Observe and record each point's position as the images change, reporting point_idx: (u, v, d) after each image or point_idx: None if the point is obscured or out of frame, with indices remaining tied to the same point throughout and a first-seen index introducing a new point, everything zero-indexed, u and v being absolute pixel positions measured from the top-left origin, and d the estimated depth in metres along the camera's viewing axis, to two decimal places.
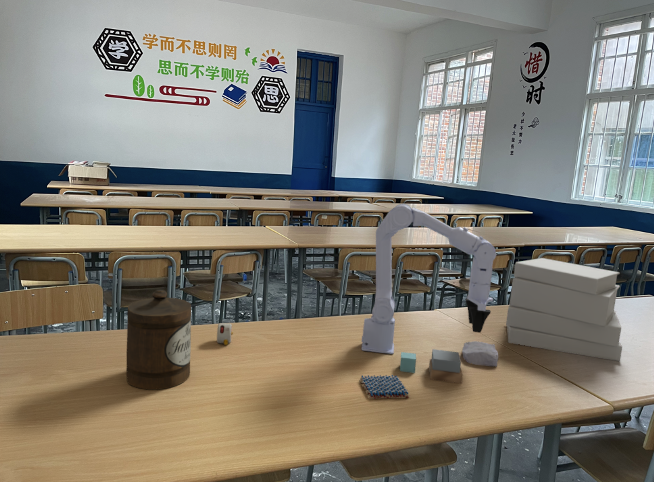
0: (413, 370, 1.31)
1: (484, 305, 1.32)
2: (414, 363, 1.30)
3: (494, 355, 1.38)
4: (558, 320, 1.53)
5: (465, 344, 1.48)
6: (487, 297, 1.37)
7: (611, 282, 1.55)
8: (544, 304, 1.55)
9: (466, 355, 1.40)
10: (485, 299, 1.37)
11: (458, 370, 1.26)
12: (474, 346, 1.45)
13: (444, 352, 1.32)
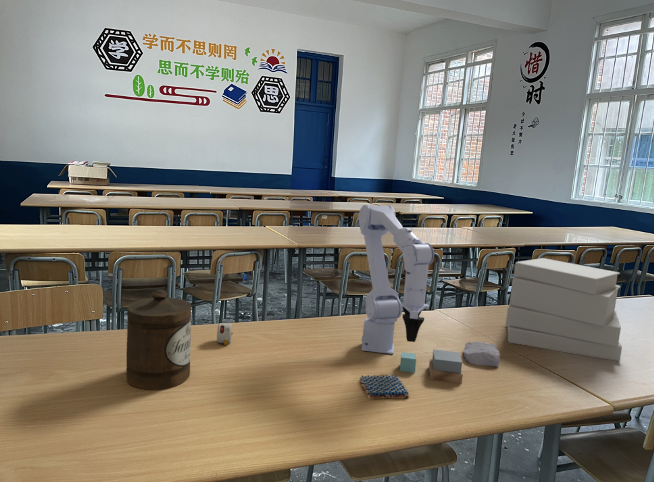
0: (413, 370, 1.31)
1: (416, 313, 1.23)
2: (414, 363, 1.30)
3: (496, 355, 1.38)
4: (558, 320, 1.53)
5: (466, 344, 1.48)
6: (422, 304, 1.28)
7: (612, 282, 1.54)
8: (544, 303, 1.55)
9: (468, 355, 1.40)
10: (420, 306, 1.27)
11: (459, 370, 1.26)
12: (475, 346, 1.45)
13: (445, 352, 1.32)
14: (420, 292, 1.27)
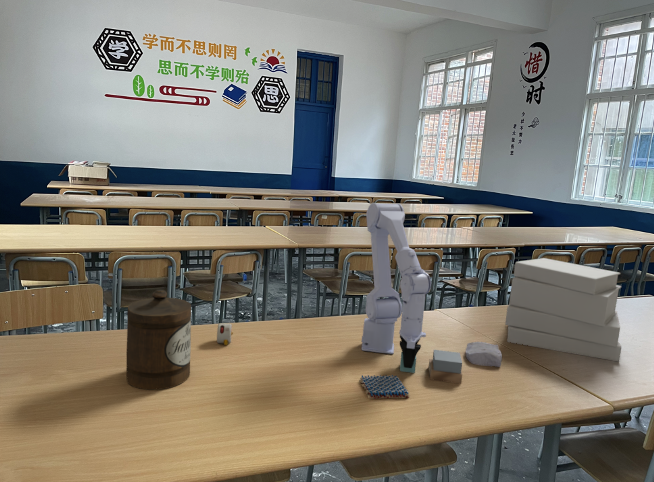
0: (413, 370, 1.31)
1: (413, 343, 1.24)
2: (414, 363, 1.30)
3: (498, 355, 1.38)
4: (557, 319, 1.53)
5: (468, 344, 1.48)
6: (419, 333, 1.29)
7: (612, 282, 1.54)
8: (543, 303, 1.56)
9: (470, 355, 1.40)
10: (417, 335, 1.29)
11: (459, 371, 1.26)
12: (477, 346, 1.45)
13: (445, 353, 1.31)
14: (417, 321, 1.28)
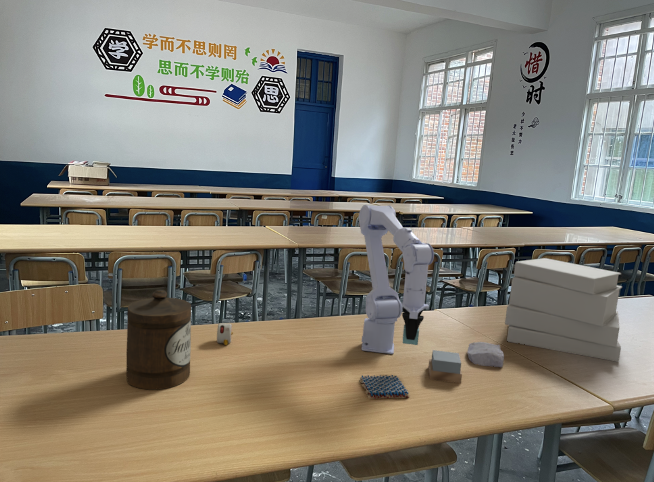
0: (416, 342, 1.29)
1: (416, 313, 1.23)
2: (417, 335, 1.29)
3: (500, 356, 1.38)
4: (557, 319, 1.54)
5: (470, 345, 1.48)
6: (422, 304, 1.28)
7: (612, 282, 1.54)
8: (543, 303, 1.56)
9: (472, 356, 1.40)
10: (419, 306, 1.27)
11: (458, 371, 1.26)
12: (479, 347, 1.45)
13: (444, 353, 1.31)
14: (420, 292, 1.27)
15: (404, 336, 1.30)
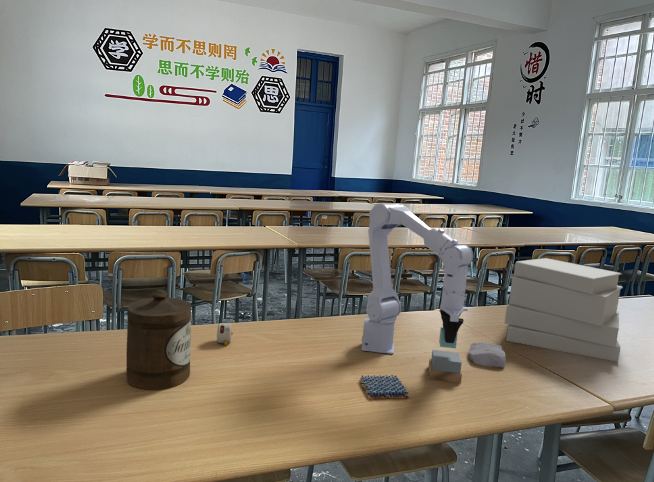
0: (454, 345, 1.27)
1: (457, 315, 1.20)
2: (455, 338, 1.27)
3: (502, 356, 1.38)
4: (556, 319, 1.54)
5: (472, 345, 1.47)
6: (461, 306, 1.25)
7: (612, 282, 1.54)
8: (542, 303, 1.56)
9: (473, 356, 1.40)
10: (459, 309, 1.25)
11: (459, 370, 1.26)
12: (481, 347, 1.45)
13: (444, 352, 1.31)
14: (460, 294, 1.24)
15: (442, 339, 1.27)
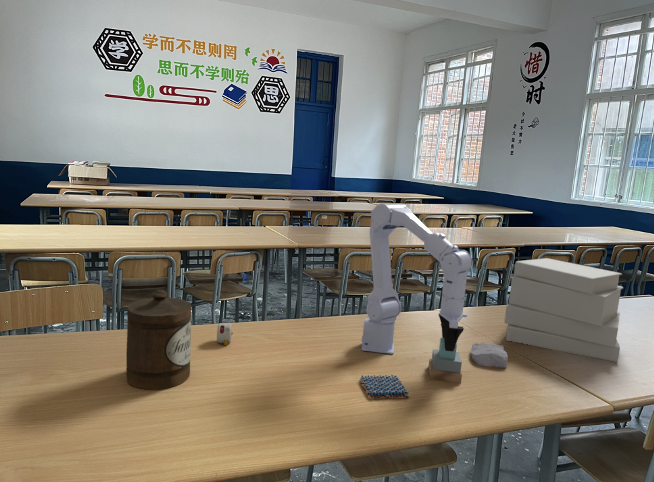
0: (453, 356, 1.27)
1: (456, 322, 1.21)
2: (454, 349, 1.27)
3: (504, 356, 1.38)
4: (555, 319, 1.54)
5: (473, 345, 1.47)
6: (460, 313, 1.26)
7: (612, 283, 1.54)
8: (542, 303, 1.56)
9: (475, 356, 1.40)
10: (458, 315, 1.25)
11: (459, 370, 1.26)
12: (483, 347, 1.45)
13: None
14: (459, 301, 1.25)
15: (441, 350, 1.28)
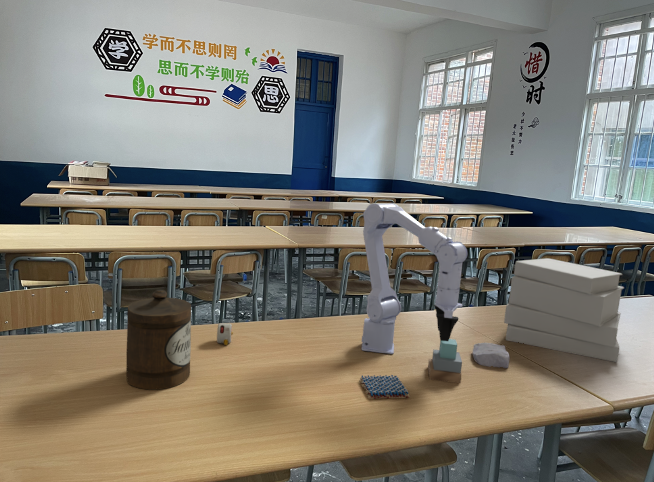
0: (454, 356, 1.28)
1: (451, 312, 1.23)
2: (455, 349, 1.27)
3: (505, 356, 1.38)
4: (555, 319, 1.54)
5: (475, 345, 1.47)
6: (455, 303, 1.27)
7: (612, 283, 1.54)
8: (541, 302, 1.57)
9: (477, 357, 1.40)
10: (453, 305, 1.27)
11: (459, 370, 1.26)
12: (484, 347, 1.45)
13: None
14: (454, 291, 1.26)
15: (442, 350, 1.28)
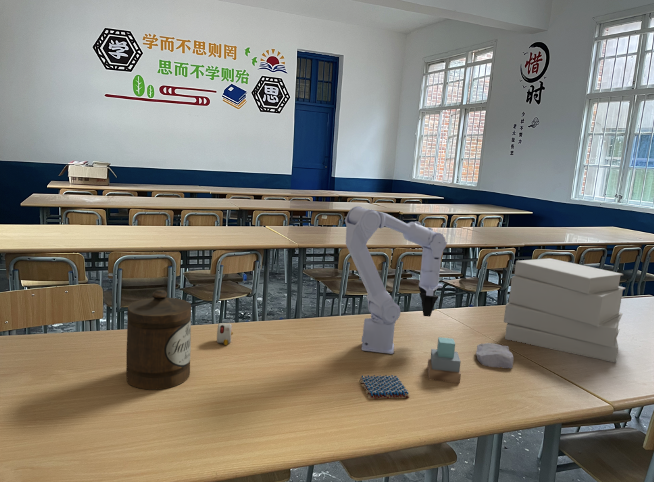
0: (452, 355, 1.28)
1: (432, 290, 1.43)
2: (453, 348, 1.28)
3: (509, 357, 1.37)
4: (554, 318, 1.54)
5: (478, 346, 1.47)
6: (436, 283, 1.48)
7: (613, 283, 1.53)
8: (540, 302, 1.57)
9: (481, 357, 1.39)
10: (434, 285, 1.47)
11: (458, 369, 1.27)
12: (488, 348, 1.44)
13: None
14: (435, 273, 1.46)
15: (440, 349, 1.28)
